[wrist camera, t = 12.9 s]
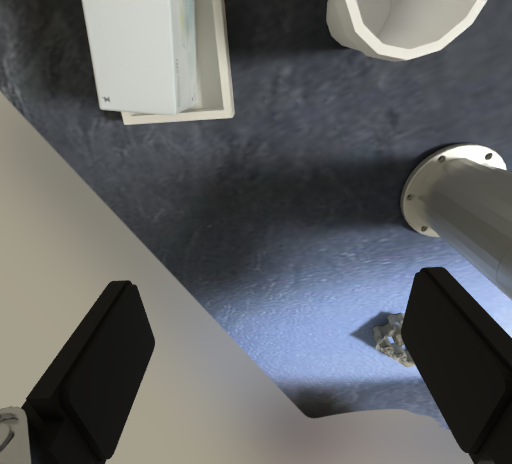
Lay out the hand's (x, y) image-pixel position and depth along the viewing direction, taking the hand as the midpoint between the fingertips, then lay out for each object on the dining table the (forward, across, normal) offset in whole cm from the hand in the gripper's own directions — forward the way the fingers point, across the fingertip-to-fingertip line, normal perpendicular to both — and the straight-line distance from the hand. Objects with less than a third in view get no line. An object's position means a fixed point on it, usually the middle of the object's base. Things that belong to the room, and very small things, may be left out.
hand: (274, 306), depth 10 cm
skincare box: (+28, +9, -10) cm, 31 cm away
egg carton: (+29, -23, +35) cm, 50 cm away
